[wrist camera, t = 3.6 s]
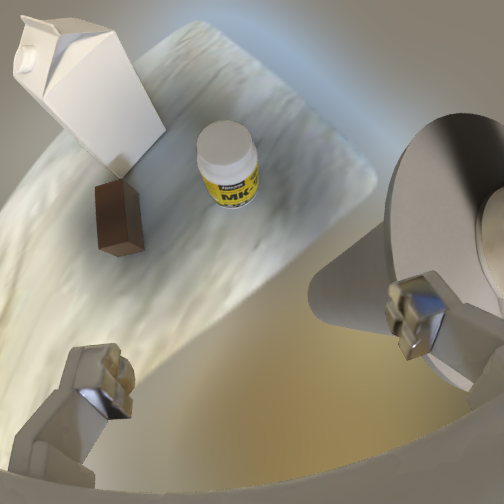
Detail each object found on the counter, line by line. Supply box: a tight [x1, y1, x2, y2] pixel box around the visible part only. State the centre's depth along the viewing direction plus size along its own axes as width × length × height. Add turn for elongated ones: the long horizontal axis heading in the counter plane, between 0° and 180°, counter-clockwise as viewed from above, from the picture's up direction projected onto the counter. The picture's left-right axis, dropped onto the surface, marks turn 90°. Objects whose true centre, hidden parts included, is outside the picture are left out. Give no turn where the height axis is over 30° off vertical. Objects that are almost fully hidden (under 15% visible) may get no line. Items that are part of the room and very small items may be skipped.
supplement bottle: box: [196, 120, 258, 209], centre depth 25 cm, size 5×5×8 cm
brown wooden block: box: [95, 178, 145, 257], centre depth 27 cm, size 6×3×4 cm, turn 12°
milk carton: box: [13, 15, 166, 179], centre depth 22 cm, size 7×7×19 cm
